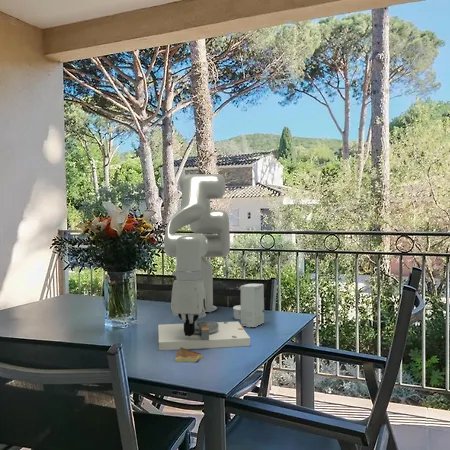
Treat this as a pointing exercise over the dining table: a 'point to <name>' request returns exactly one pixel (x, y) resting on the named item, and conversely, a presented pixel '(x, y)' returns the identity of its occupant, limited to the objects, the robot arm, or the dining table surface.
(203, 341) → the board
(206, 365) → the dining table surface
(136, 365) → the dining table surface
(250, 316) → the skincare box
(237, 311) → the ramekin
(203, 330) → the dial
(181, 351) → the shard
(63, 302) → the dining table surface
